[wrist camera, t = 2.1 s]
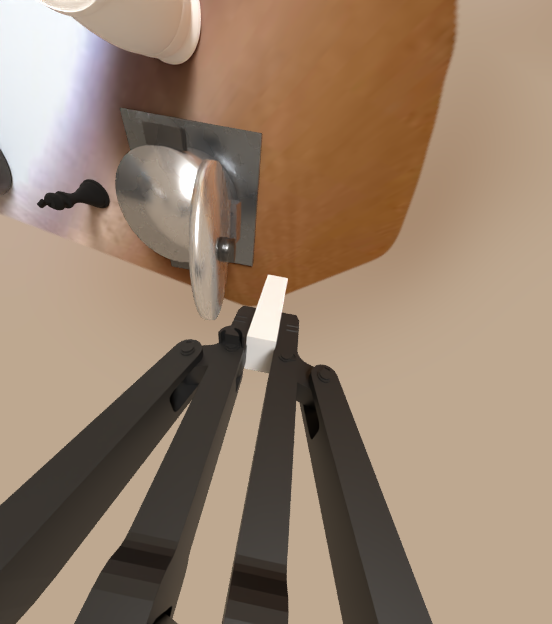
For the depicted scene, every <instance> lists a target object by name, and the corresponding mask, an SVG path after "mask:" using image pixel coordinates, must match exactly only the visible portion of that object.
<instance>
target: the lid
mask: <svg viewBox="0 0 552 624" xmlns="http://www.w3.org/2000/svg"><path fill="white" fill-rule="evenodd" d="M235 255H236V239H235V238H231V200H230V199H228V196H227V187H226V181H225V176H224V171H223V168H222V166H221V164H220V162H219V161H215V160H209V159H205V160H203V161H202V162H201V164H200V165H199V168H198V170H197V173H196V177H195V180H194V185H193V190H192V197H191V205H190V216H189V266H190V278H191V286H192V292H193V297H194V301H195V305H196V308H197V311H198V313H199V315H200V316H201V318H203V319H205V320H215V319H216V318H217V317H218V315H219V313H220V310H221V306H222V303H223V298H224V293H225V286H226V279H227V269H228V262H230V263H234V262H235Z"/></svg>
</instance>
